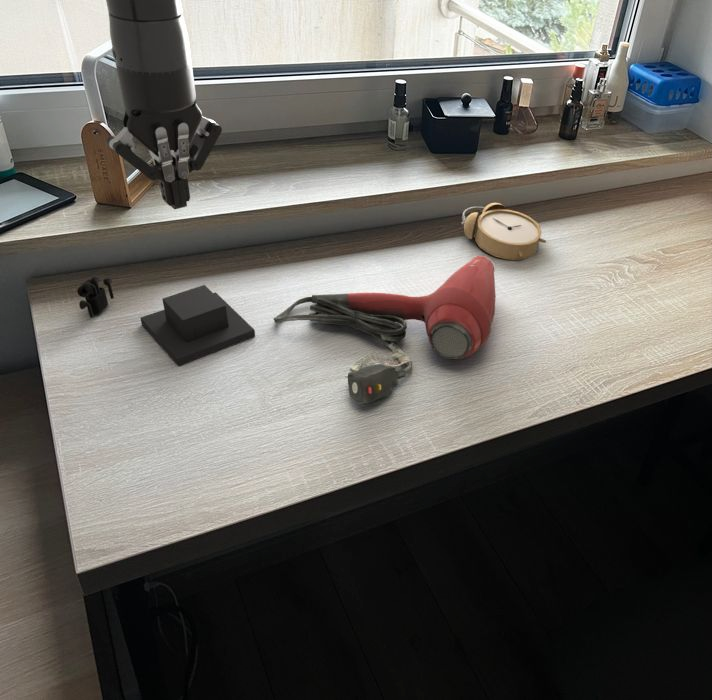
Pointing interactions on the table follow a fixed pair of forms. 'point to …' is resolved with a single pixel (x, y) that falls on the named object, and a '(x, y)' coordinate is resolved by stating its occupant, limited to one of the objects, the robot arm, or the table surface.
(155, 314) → the base pad
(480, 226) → the alarm clock
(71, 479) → the table surface
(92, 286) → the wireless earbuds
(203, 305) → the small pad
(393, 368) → the hair dryer
